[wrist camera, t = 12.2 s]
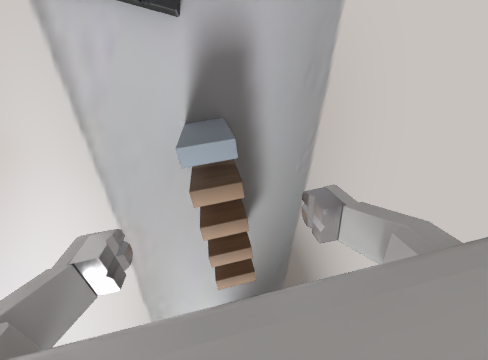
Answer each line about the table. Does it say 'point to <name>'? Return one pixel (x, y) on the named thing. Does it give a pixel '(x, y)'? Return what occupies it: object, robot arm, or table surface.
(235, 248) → the domino
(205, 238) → the domino
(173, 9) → the disk drive
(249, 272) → the domino
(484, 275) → the robot arm
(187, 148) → the end domino
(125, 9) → the table surface
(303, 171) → the table surface
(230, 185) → the domino
